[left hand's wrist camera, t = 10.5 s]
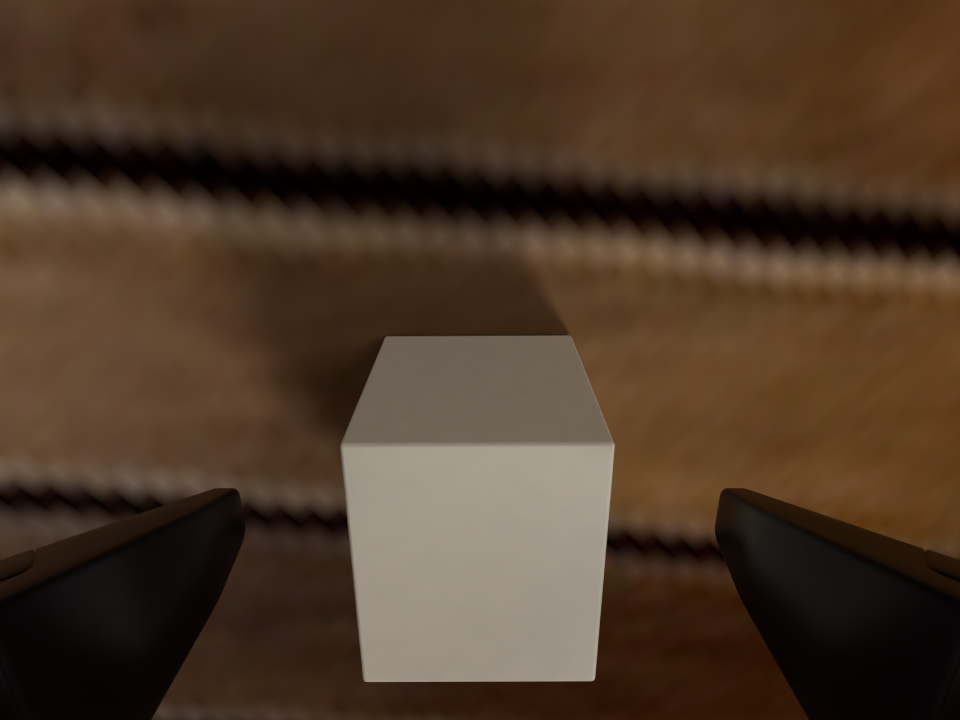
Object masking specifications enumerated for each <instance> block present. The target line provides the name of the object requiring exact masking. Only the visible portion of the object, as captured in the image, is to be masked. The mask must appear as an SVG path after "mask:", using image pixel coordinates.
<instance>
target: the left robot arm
mask: <svg viewBox="0 0 960 720" xmlns="http://www.w3.org/2000/svg"><path fill="white" fill-rule="evenodd" d="M244 535H245V523H244V517H243V511H242V505H241V499H240V495H239V492H238V491H237V490H236V489H234V488H217V489H212V490H209V491H206V492H203V493H200V494H197V495H194V496H192V497H189V498H186V499H183V500H180V501H177V502H174V503H171V504H168V505H165V506H162V507H159V508H156V509H153V510H150V511H147V512H144V513H141V514H138V515H135V516H132V517H129V518H126V519H123V520H120V521H118V522H115V523H112V524H109V525H106V526H103V527H100V528H97V529H94V530H91V531H88V532H85V533H82V534H79V535H76V536H73V537H70V538H67V539H64V540H61V541H58V542H55V543H52V544H49V545H46V546H44V547H41V548H38V549H36V551H34V550H29V551H26V552H23V553H20V554H17V555H14V556H11V557H8V558H5V559H2V560H0V720H151V719H152V717H153V715H154V714H155V712H156V710H157V708H158V707H159V705H160V703H161V701H162V700H163V698H164V696H165V694H166V692H167V691H168V689H169V687H170V685H171V684H172V682H173V680H174V678H175V677H176V675H177V673H178V671H179V669H180V668H181V666H182V664H183V662H184V661H185V659H186V657H187V655H188V654H189V652H190V650H191V648H192V647H193V645H194V643H195V641H196V639H197V638H198V636H199V634H200V632H201V631H202V629H203V627H204V625H205V624H206V622H207V620H208V618H209V617H210V615H211V613H212V611H213V609H214V607H215V606H216V604H217V602H218V600H219V598H220V596H221V593H222V591H223V589H224V586H225V584H226V581H227V579H228V577H229V574H230V572H231V569H232V567H233V564H234V562H235V559H236V557H237V555H238V552H239V550H240V547H241V545H242V542H243V539H244ZM715 535H716V539H717V542H718V545H719V547H720V550H721V552H722V555H723V557H724V559H725V562H726V564H727V567H728V569H729V572H730V574H731V577H732V579H733V581H734V584H735V586H736V589H737V591H738V593H739V596H740V598H741V600H742V602H743V604H744V606H745V607H746V609H747V611H748V613H749V615H750V617H751V618H752V620H753V622H754V624H755V625H756V627H757V629H758V631H759V632H760V634H761V636H762V638H763V639H764V641H765V643H766V645H767V647H768V648H769V650H770V652H771V654H772V655H773V657H774V659H775V661H776V662H777V664H778V666H779V668H780V670H781V671H782V673H783V675H784V677H785V678H786V680H787V682H788V684H789V685H790V687H791V689H792V691H793V692H794V694H795V696H796V698H797V700H798V701H799V703H800V705H801V707H802V708H803V710H804V712H805V714H806V715H807V717H808V719H809V720H960V560H958V559H955V558H952V557H949V556H946V555H943V554H940V553H937V552H934V551H931V550H926V551H924V549H922V548H919V547H916V546H914V545H911V544H908V543H905V542H902V541H899V540H896V539H893V538H890V537H887V536H884V535H881V534H878V533H875V532H872V531H869V530H866V529H863V528H860V527H857V526H854V525H851V524H848V523H845V522H842V521H840V520H837V519H834V518H831V517H828V516H825V515H822V514H819V513H816V512H813V511H810V510H807V509H804V508H801V507H798V506H795V505H792V504H789V503H786V502H783V501H780V500H777V499H774V498H771V497H768V496H766V495H763V494H760V493H757V492H754V491H751V490H748V489H743V488H726V489H724V490H723V491H722V492H721V495H720V499H719V505H718V511H717V517H716V523H715Z"/></svg>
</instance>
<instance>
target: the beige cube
mask: <svg viewBox="0 0 960 720" xmlns="http://www.w3.org/2000/svg"><path fill="white" fill-rule="evenodd" d="M614 447H615V444H614V442H613V439H612V437H611V434H610V432H609V429H608V427H607V424H606V422H605V419H604V417H603V414H602V412H601V409H600V407H599V404H598V402H597V399H596V397H595V394H594V392H593V389H592V387H591V384H590V382H589V379H588V377H587V374H586V372H585V369H584V367H583V364H582V362H581V359H580V357H579V354H578V352H577V349H576V347H575V345H574V342H573V340H572V337H571V336H387V337H385V339H384V341H383V344H382V346H381V348H380V351H379V353H378V356H377V358H376V360H375V363H374V365H373V368H372V370H371V373H370V375H369V377H368V380H367V382H366V385H365V387H364V389H363V392H362V394H361V397H360V399H359V401H358V404H357V406H356V409H355V411H354V413H353V416H352V418H351V421H350V423H349V425H348V428H347V430H346V433H345V435H344V437H343V440H342V442H341V445H340V451H341V461H342V471H343V481H344V491H345V501H346V511H347V521H348V531H349V541H350V551H351V561H352V571H353V581H354V592H355V602H356V612H357V622H358V632H359V642H360V652H361V662H362V672H363V679H364V681H366V682H447V681H593V680H594V679H595V672H596V661H597V649H598V637H599V625H600V613H601V601H602V589H603V578H604V566H605V554H606V542H607V530H608V518H609V507H610V495H611V483H612V471H613V459H614Z"/></svg>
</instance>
